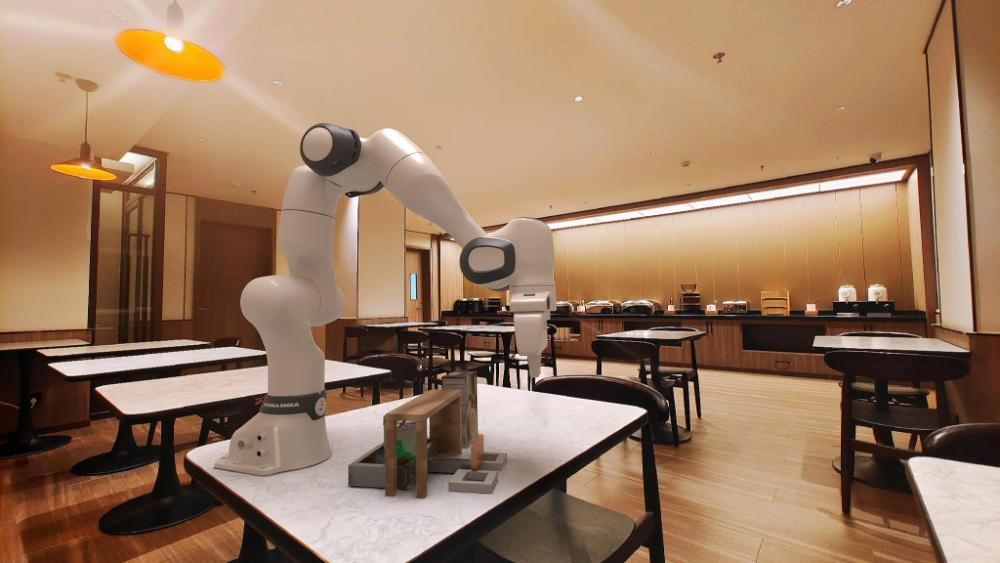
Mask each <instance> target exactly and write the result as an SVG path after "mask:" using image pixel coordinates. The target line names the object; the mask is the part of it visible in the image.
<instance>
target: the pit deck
mask: <svg viewBox="0 0 1000 563" xmlns="http://www.w3.org/2000/svg"><path fill="white" fill-rule="evenodd" d="M465 459H471V452H470V453H469V454H468V456H467V457H466V458H465ZM507 461H508V453H507V452H495V451H494V452H492V451H491V452H490V451H484V459H483V460H482V462H481V463H480V465H479V470H465V469H458V470H457V471H456V473H453V476H451V478H450V480H449V481H448V482H447V486H448V487H447V489H448V491H447V492H451V493H452V492H453V493H454V492H455V493H469V494H470V493H471V494H472V493H474V494H487V495H488V494H489V495H492V493H493V491H494V489H495V487H496V485H497V483H498V481H499V472H503V470H504V468H505V466H506V463H507Z"/></svg>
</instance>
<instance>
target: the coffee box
mask: <svg viewBox="0 0 1000 563" xmlns="http://www.w3.org/2000/svg"><path fill="white" fill-rule="evenodd" d="M477 374H478V372H477V371H476V370H475V371H474V370H472V371H468V370H467V371H466V370H463V371H462V370H461V371H460V370H458V371H457V370H454V371H452V372H449V373H447V374H445V375H442V376H441V390H461V409H462V449H468V448H470V447H471V443H472V442H473V440H474V439H475V438H476V437H477V436H478V434H479V421H478V420H479V417H478V412H479V411H478V408H479V407H478V375H477Z"/></svg>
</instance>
